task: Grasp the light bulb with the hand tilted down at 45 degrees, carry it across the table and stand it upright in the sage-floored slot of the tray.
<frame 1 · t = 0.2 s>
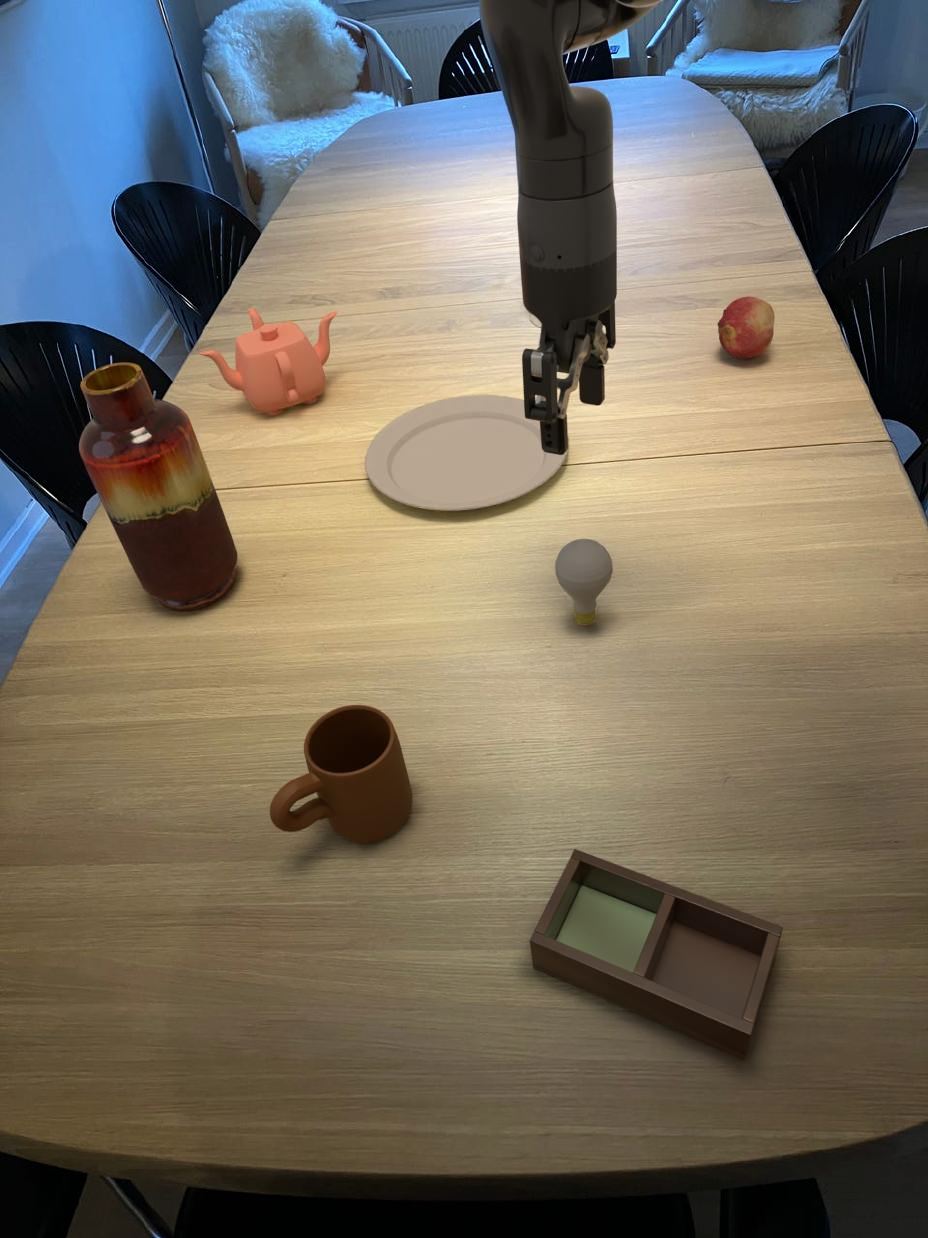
hand: (574, 426, 82), 20 cm above the table, tool pointing down, fingers open, 8 cm apart
plate: (467, 462, 117), on the table
vase: (197, 586, 104), on the table
mug: (351, 825, 78), on the table
cup: (566, 314, 143), on the table
tray: (653, 961, 67), on the table
fruit: (743, 357, 128), on the table
light bulb: (585, 623, 93), on the table
teapot: (284, 395, 135), on the table
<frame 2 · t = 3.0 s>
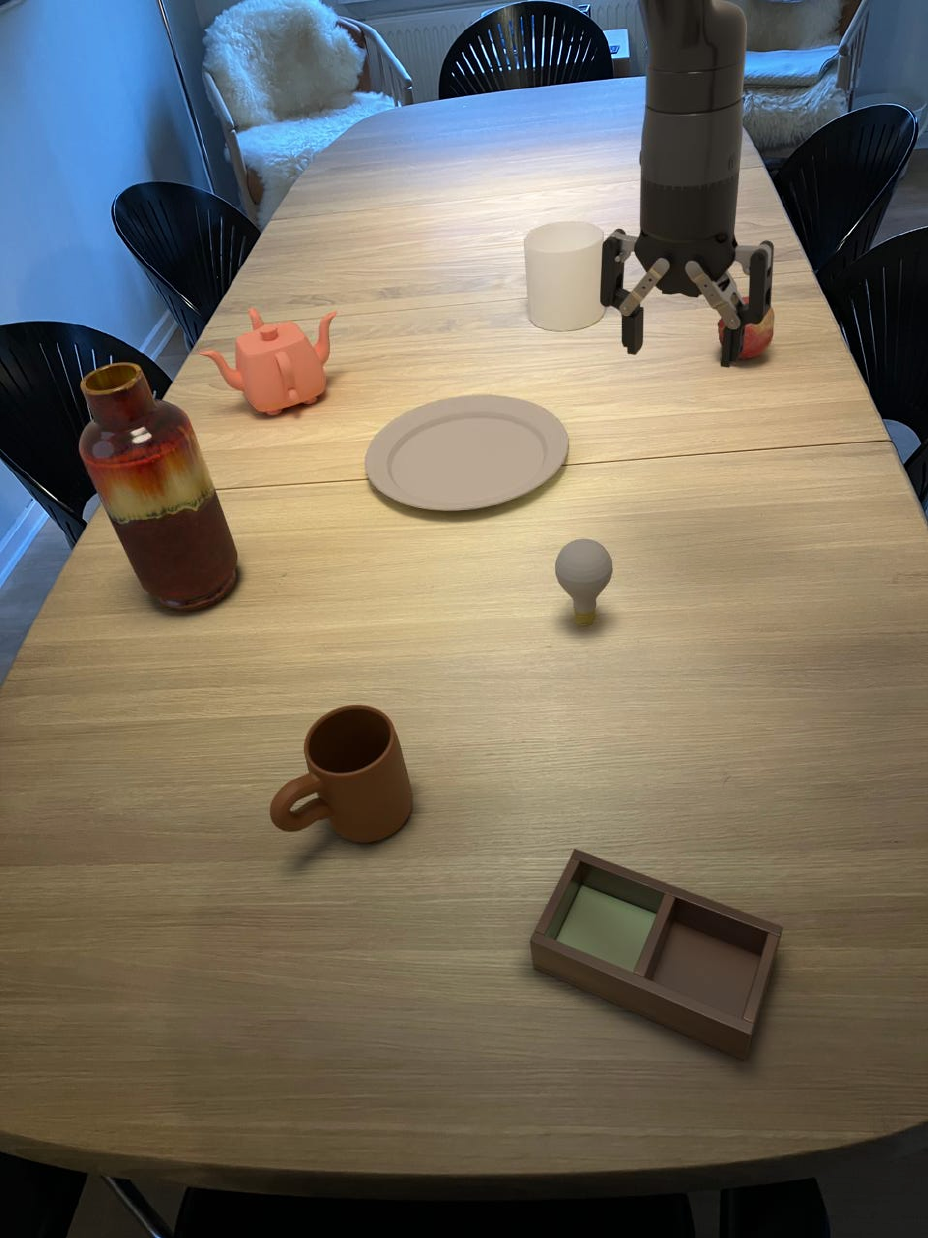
hand: (680, 356, 82), 24 cm above the table, tool pointing down, fingers open, 8 cm apart
nothing on the table moved.
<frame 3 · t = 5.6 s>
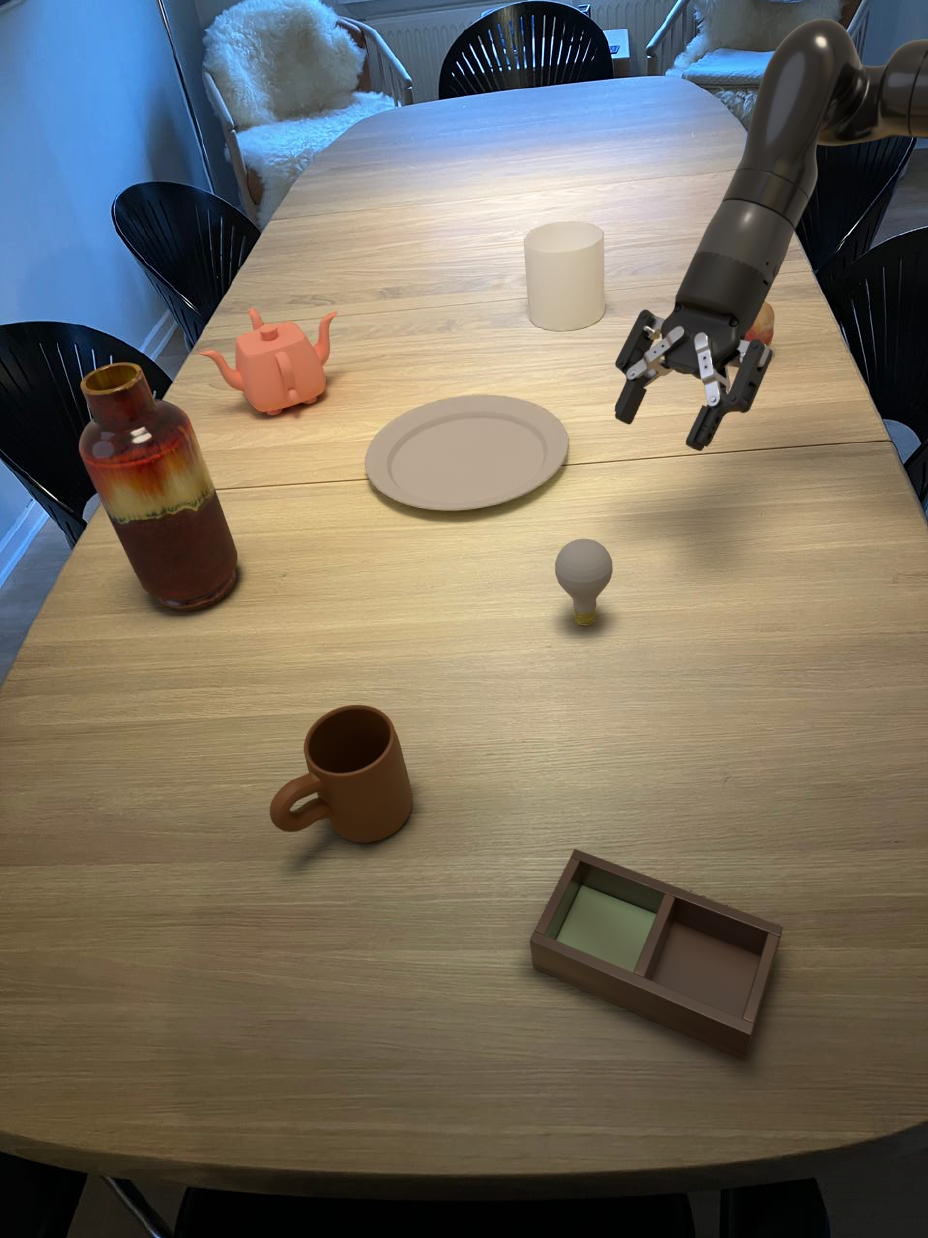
hand: (656, 434, 87), 16 cm above the table, tool tilted 45°, fingers open, 8 cm apart
nothing on the table moved.
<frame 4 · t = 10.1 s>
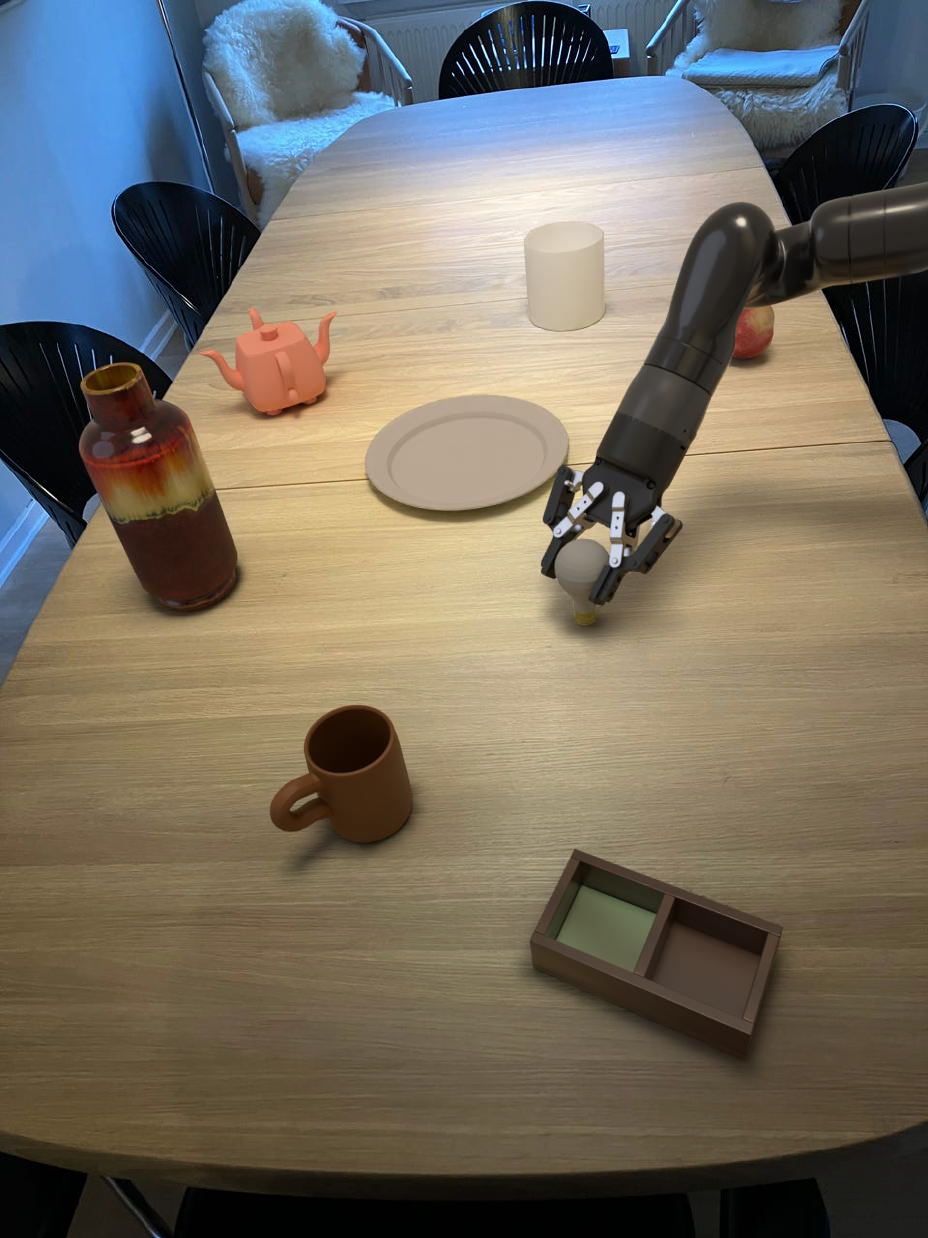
hand: (571, 589, 88), 6 cm above the table, tool tilted 45°, fingers closed on light bulb, 5 cm apart
light bulb: (585, 623, 93), on the table, touching gripper
everything else where it was.
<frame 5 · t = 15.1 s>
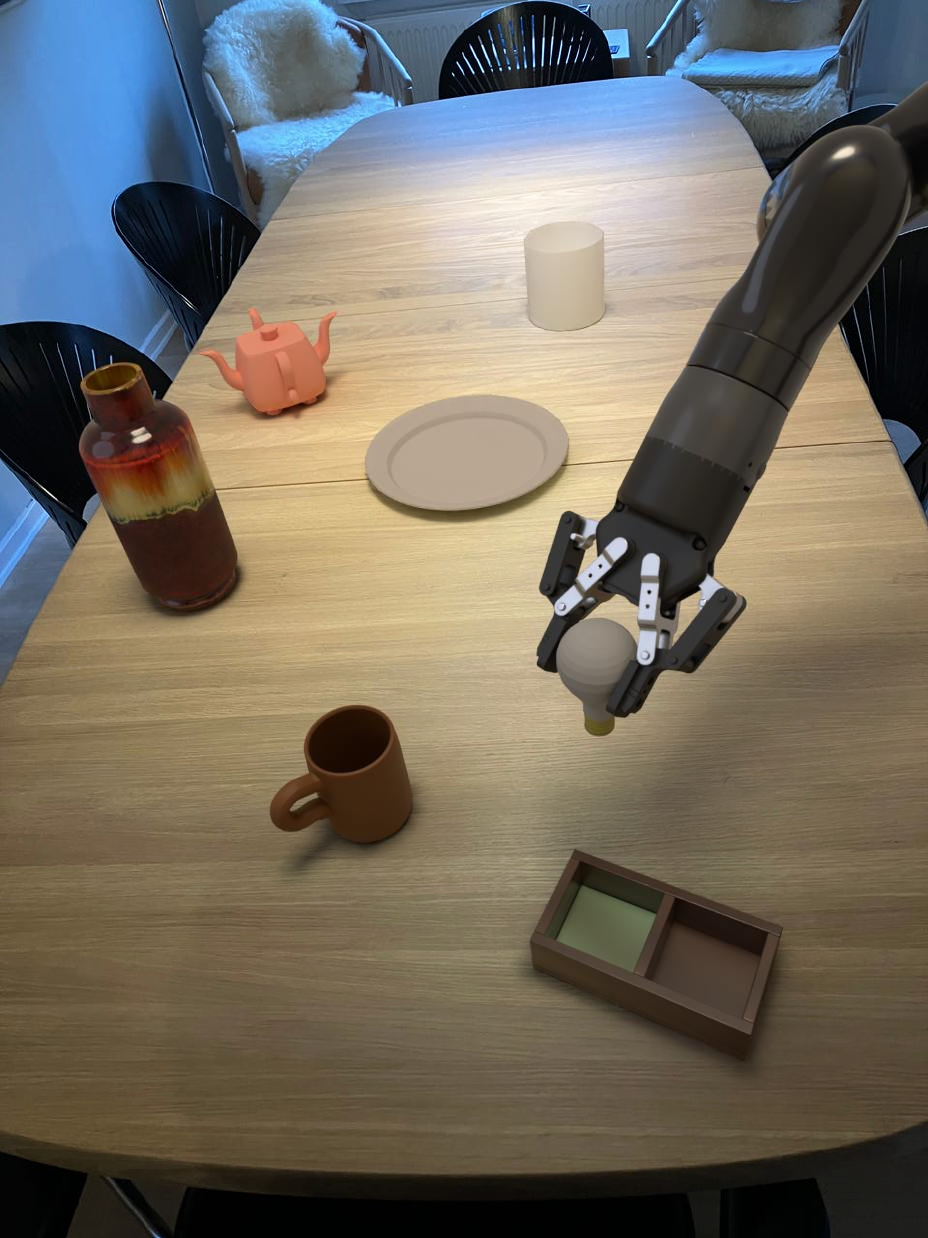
hand: (581, 690, 61), 19 cm above the table, tool tilted 45°, fingers closed on light bulb, 5 cm apart
light bulb: (600, 732, 66), point 13 cm above the table, touching gripper
everything else where it was.
when the fingers open (7 cm above the table, at t = 20.2 s): light bulb stays where it is, resting on tray.
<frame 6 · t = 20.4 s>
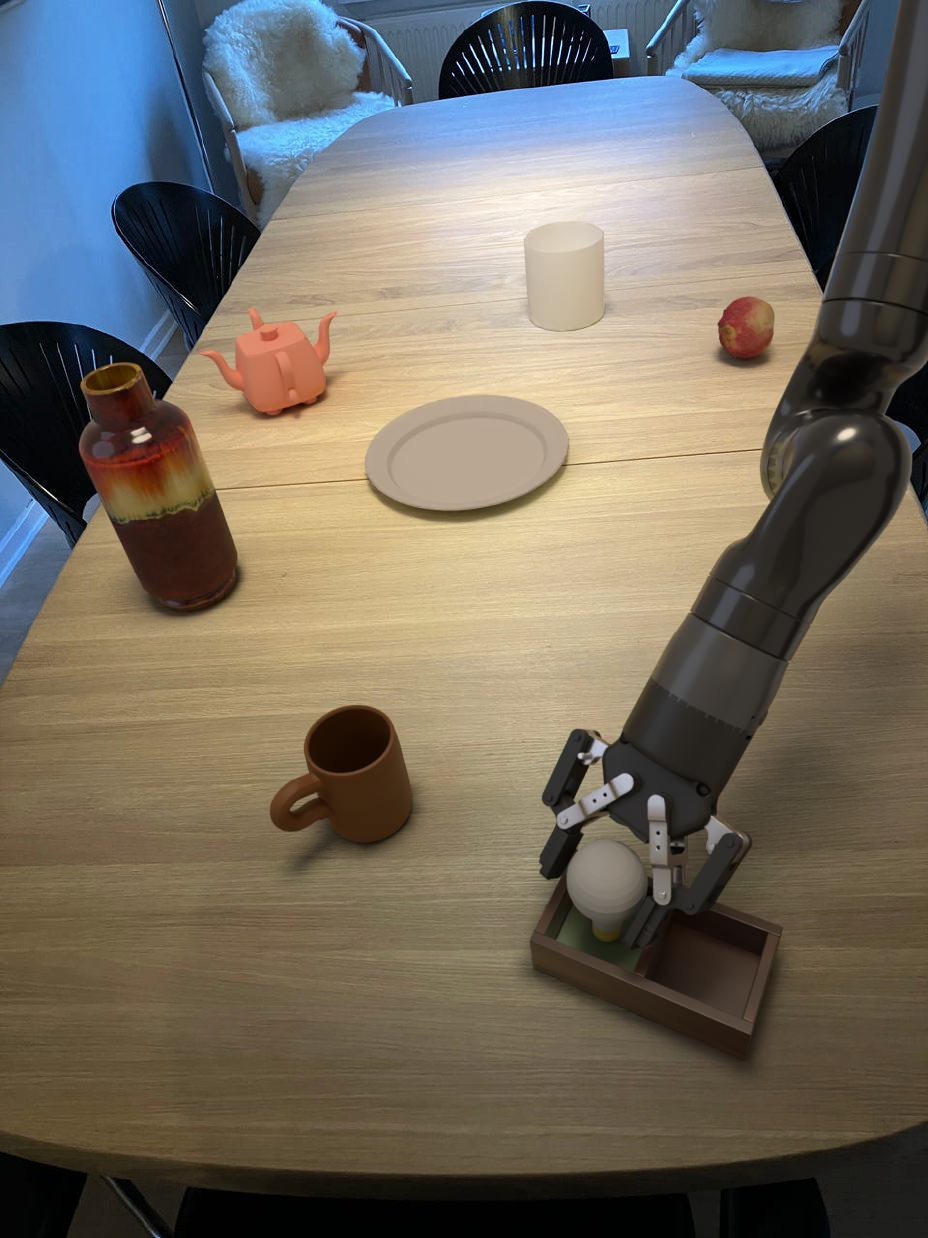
hand: (589, 909, 63), 7 cm above the table, tool tilted 45°, fingers open, 7 cm apart
light bulb: (607, 934, 68), point 1 cm above the table, touching tray
everything else where it was.
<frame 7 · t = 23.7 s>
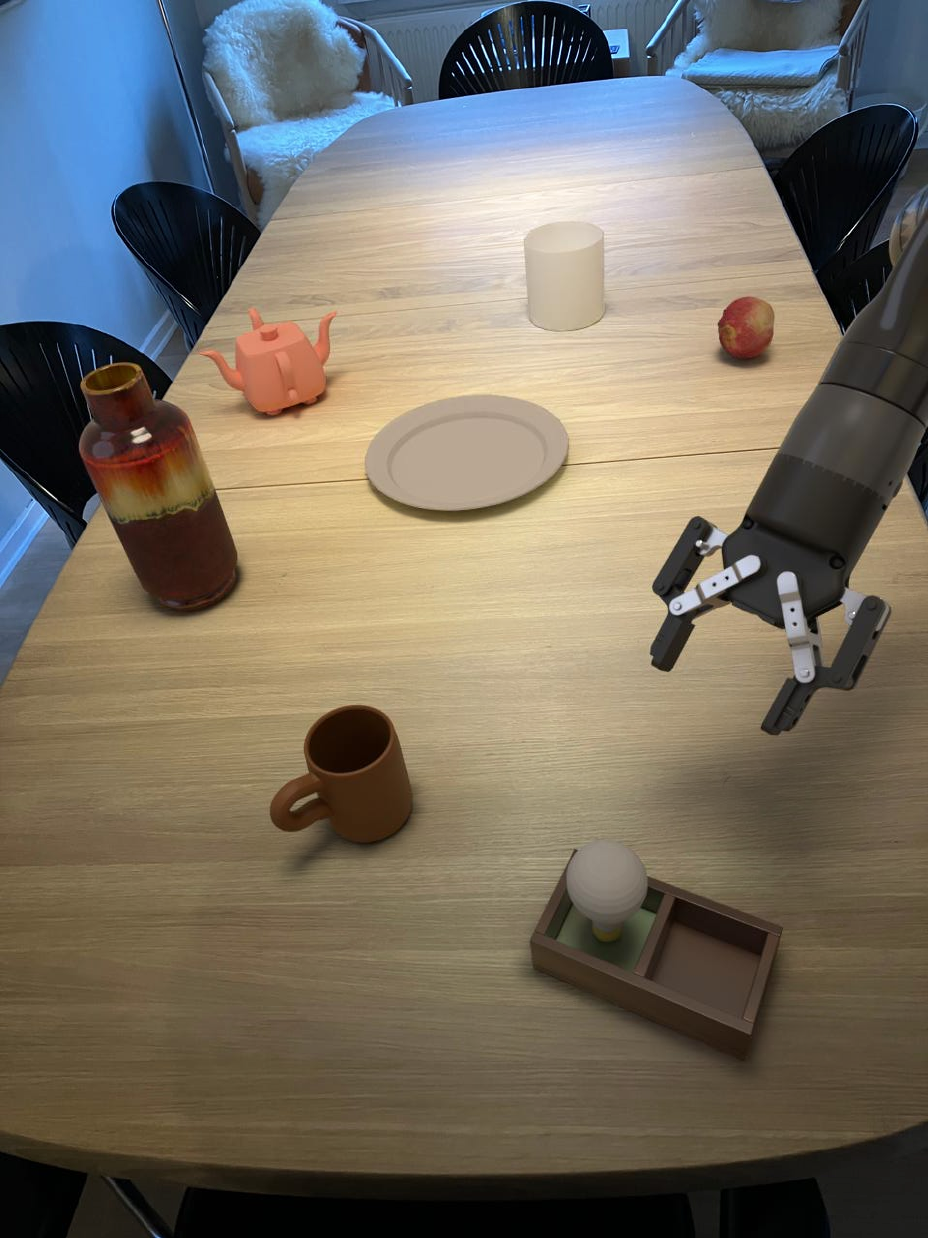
hand: (712, 699, 61), 18 cm above the table, tool tilted 45°, fingers open, 8 cm apart
nothing on the table moved.
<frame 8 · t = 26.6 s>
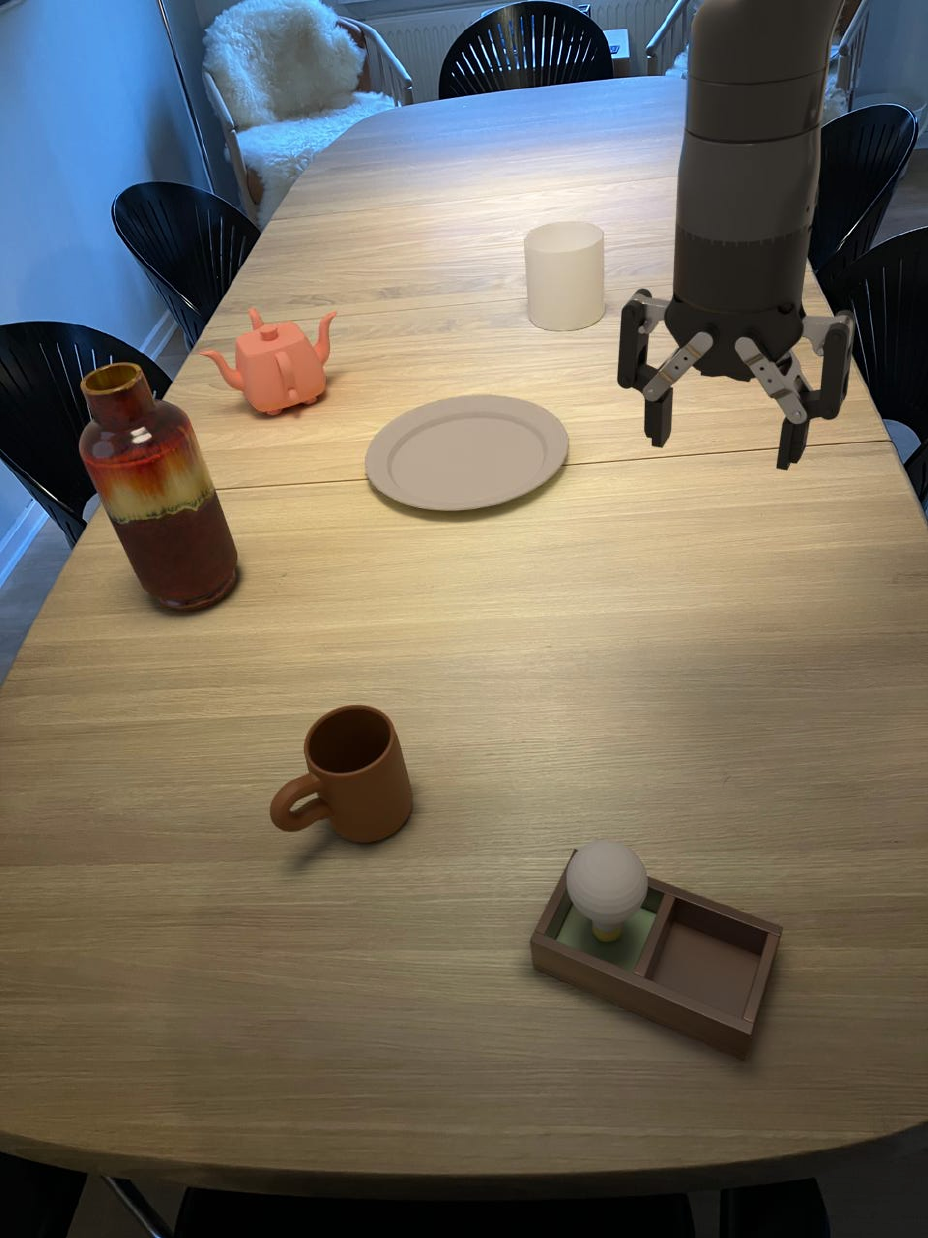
hand: (721, 452, 63), 28 cm above the table, tool pointing down, fingers open, 8 cm apart
nothing on the table moved.
at the end: light bulb 0.3 cm from the target spot in the tray, point 0.6 cm above the tray's base; light bulb tilted 0°; the gripper is holding nothing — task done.
